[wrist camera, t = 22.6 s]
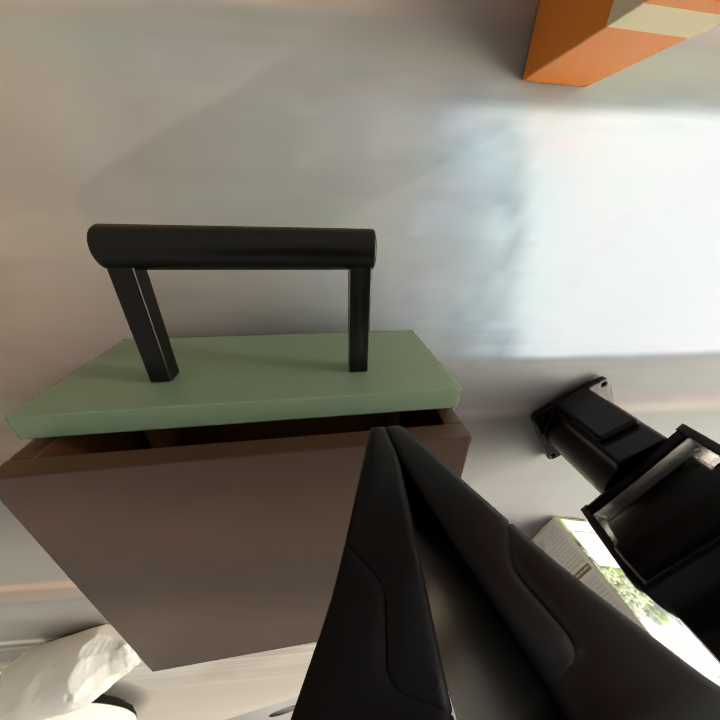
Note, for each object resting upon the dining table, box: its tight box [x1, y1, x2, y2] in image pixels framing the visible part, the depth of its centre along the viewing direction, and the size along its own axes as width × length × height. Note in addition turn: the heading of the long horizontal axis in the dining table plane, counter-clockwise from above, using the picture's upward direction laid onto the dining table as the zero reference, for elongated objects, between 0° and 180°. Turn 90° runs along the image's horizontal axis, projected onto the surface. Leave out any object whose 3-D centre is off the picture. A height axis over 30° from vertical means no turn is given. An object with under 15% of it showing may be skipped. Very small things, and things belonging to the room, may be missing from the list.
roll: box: [0, 624, 140, 720], centre depth 27 cm, size 6×12×6 cm, turn 107°
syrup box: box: [531, 517, 720, 686], centre depth 27 cm, size 6×6×14 cm
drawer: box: [5, 224, 461, 448], centre depth 15 cm, size 22×16×6 cm
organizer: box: [0, 408, 472, 671], centre depth 17 cm, size 16×16×9 cm
